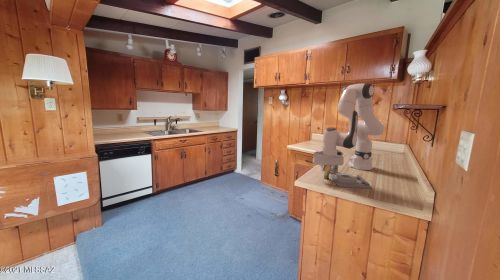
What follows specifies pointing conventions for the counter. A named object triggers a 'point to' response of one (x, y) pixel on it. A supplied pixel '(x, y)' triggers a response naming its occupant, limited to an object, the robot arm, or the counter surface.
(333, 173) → the coffee box
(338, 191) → the counter surface
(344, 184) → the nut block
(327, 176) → the pin
